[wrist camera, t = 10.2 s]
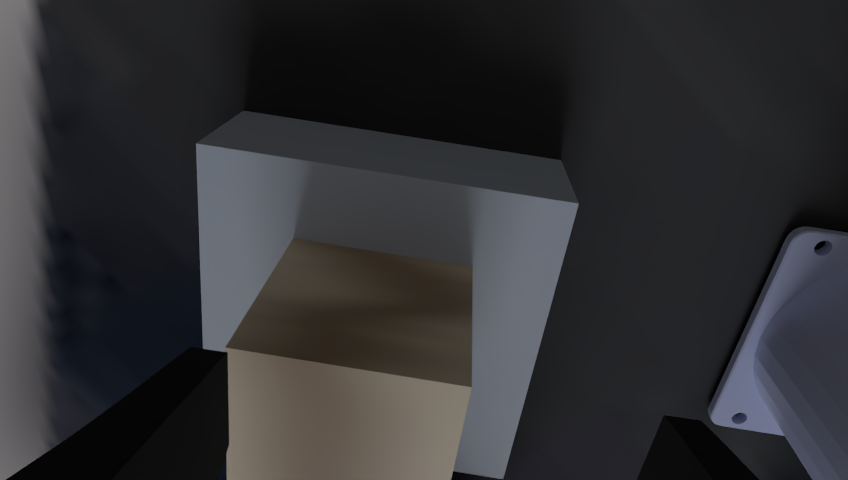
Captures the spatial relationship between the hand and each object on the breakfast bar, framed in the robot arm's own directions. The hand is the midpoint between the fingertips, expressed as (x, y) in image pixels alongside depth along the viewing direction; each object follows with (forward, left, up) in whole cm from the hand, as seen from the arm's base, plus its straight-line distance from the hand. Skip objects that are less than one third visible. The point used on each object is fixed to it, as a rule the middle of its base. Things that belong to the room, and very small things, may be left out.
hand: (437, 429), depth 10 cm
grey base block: (+2, +3, -11) cm, 12 cm away
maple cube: (+2, +3, -7) cm, 8 cm away
